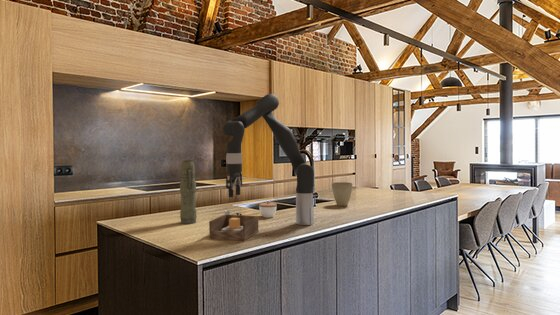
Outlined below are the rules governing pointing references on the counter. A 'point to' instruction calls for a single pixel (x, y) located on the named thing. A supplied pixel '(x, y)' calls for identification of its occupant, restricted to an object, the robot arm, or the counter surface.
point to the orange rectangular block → (234, 223)
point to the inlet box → (222, 231)
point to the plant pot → (342, 192)
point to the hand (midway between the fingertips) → (234, 196)
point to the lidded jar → (267, 209)
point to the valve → (230, 212)
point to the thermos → (188, 193)
